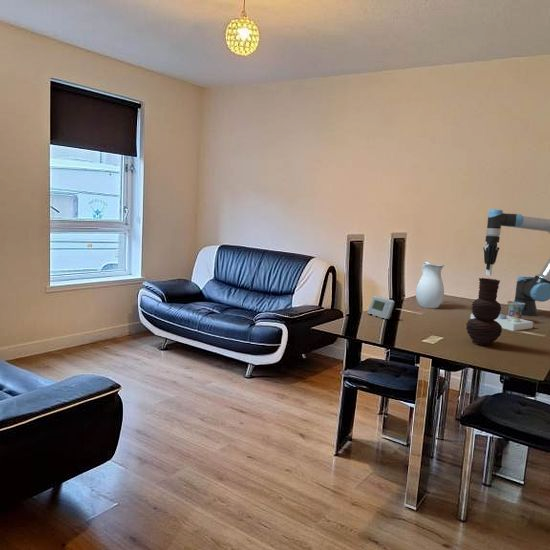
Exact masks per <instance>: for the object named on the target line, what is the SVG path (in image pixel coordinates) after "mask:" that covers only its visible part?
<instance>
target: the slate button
mask: <svg viewBox="0 0 550 550" xmlns="http://www.w3.org/2000/svg"><path fill="white" fill-rule="evenodd" d="M506 316H507V315H506ZM506 316H505V314H502V315H499V317H498V318H500V319H506Z"/></svg>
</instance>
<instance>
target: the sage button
mask: <svg viewBox="0 0 550 550" xmlns="http://www.w3.org/2000/svg"><path fill="white" fill-rule="evenodd" d="M510 321H512V322H516V323H518V322H520V319H518V318H510Z"/></svg>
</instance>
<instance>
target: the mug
mask: <svg viewBox="0 0 550 550" xmlns="http://www.w3.org/2000/svg"><path fill="white" fill-rule="evenodd" d="M507 306H508V314H507V316H510V317H515V318H519V319H523V317H522V314H521V313H522V309H523V307H524V306H525V303H521V302H515V301H514V300H513V301H512V300H508V301H507Z"/></svg>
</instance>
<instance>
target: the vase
mask: <svg viewBox="0 0 550 550" xmlns="http://www.w3.org/2000/svg"><path fill="white" fill-rule="evenodd" d="M478 281H479V282H478V283H479V285H478V286H479V287H478V295H477V296H478V298H477V299H474V300H473V301H472V303H471V314H473V315H474V317H475V318H474V319H470V318H469V320H467V322H466V323H465V324H466V325H465V326H466V327H465V329H466V333H467V334H468V336H469V337H470V339H471V342H472V343H473V344H474V343H476V344H475V345H478V344H480V345H479V346H483V345H490V346H492V344H493V343H494V342H495V341H497V340H498V338H499V337H501V334H502V331H503V328H502V326H501V325H500V324H499V323H498V322H497V321H495V319H497V318H498V317H499V315H500V314H501V311H502V307H501V304H500V302H498V301H497V297H498V290H499V289H500V288H499V287H500V286H499V285H500V282H501V280H498V279H496V278H495V279H494V278H490V277H487V278H485V277H482V278H481V277H478Z"/></svg>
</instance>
